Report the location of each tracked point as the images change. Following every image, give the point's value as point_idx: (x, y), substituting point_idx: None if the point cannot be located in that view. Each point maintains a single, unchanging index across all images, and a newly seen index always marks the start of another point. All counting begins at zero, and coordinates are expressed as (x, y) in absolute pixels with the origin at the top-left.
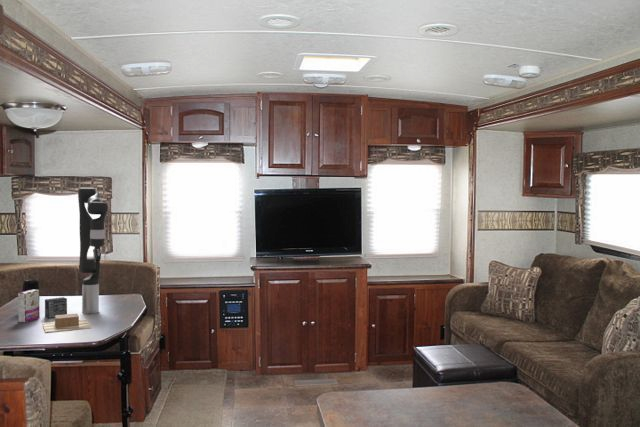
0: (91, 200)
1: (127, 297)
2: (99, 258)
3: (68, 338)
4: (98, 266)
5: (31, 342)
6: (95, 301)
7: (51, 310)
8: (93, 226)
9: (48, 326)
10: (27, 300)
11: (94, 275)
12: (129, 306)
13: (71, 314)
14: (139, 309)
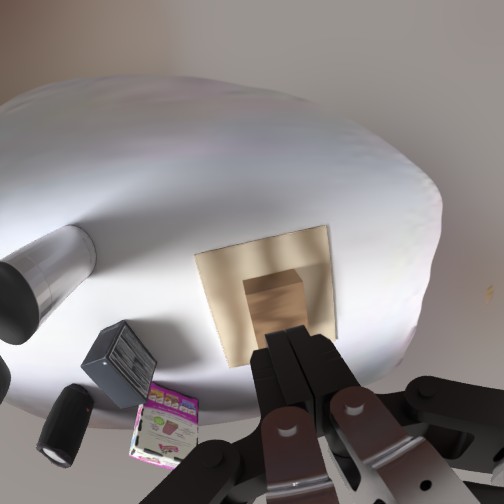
0: None
1: None
2: (484, 401)
3: (407, 273)
4: (333, 345)
5: (400, 340)
6: (66, 247)
7: (147, 372)
8: None
9: None
10: (189, 444)
11: None
12: (16, 131)
13: (259, 311)
14: (63, 83)
